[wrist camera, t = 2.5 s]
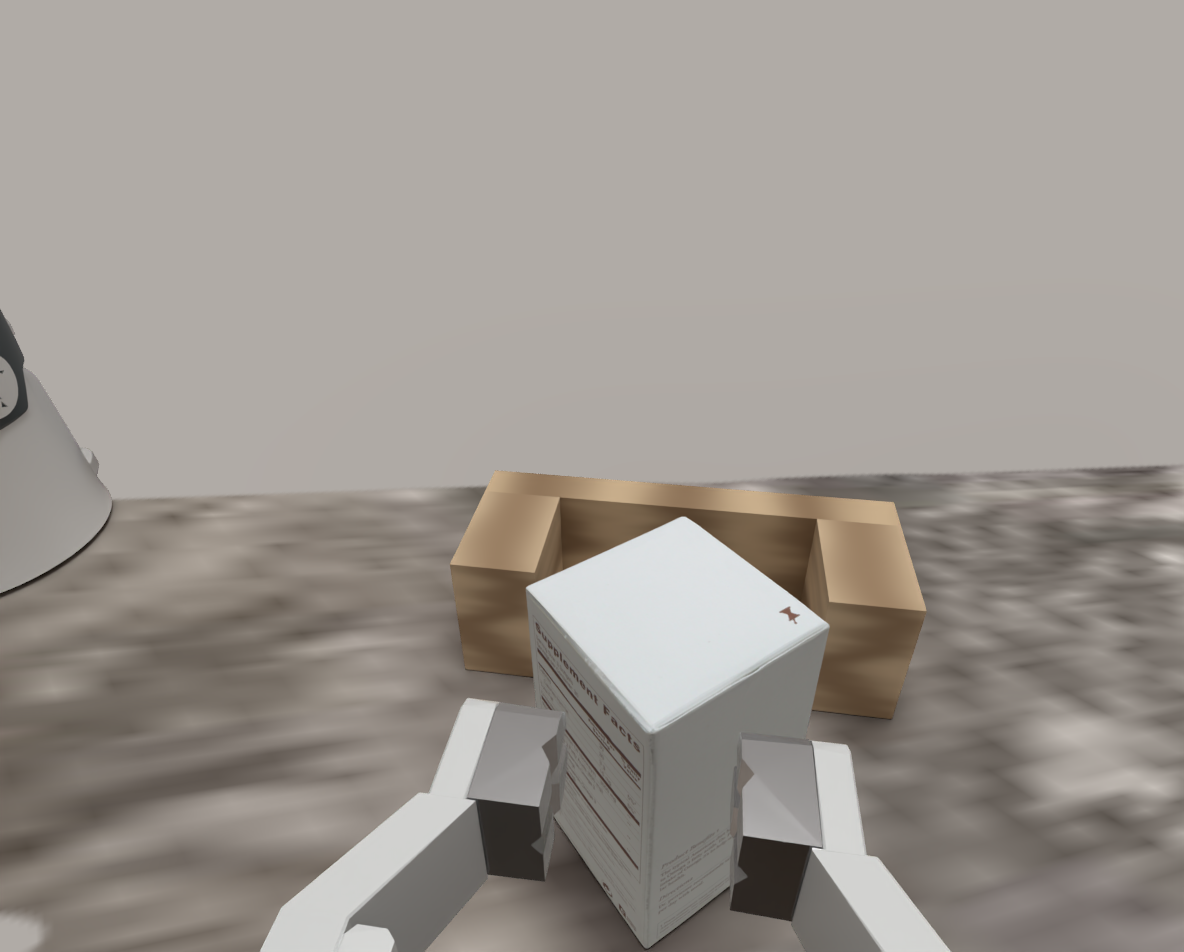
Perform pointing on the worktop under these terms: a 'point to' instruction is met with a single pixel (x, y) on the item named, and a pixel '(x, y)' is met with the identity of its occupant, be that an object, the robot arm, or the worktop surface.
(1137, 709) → the worktop surface
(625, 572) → the supplement box
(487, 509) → the oak rack
